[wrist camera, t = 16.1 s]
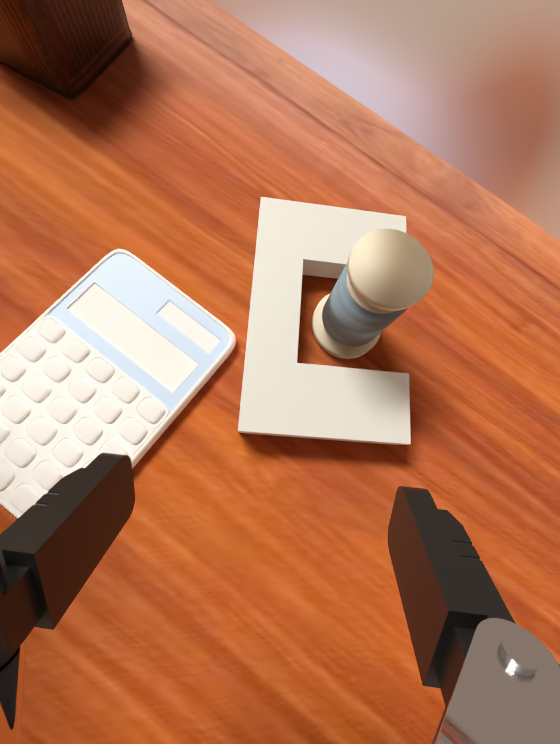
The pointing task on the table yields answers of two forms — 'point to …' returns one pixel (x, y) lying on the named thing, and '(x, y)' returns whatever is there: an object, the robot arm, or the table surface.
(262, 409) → the notched board
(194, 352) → the calculator
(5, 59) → the manual coffee grinder
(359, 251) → the disc
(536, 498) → the table surface
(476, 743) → the robot arm
